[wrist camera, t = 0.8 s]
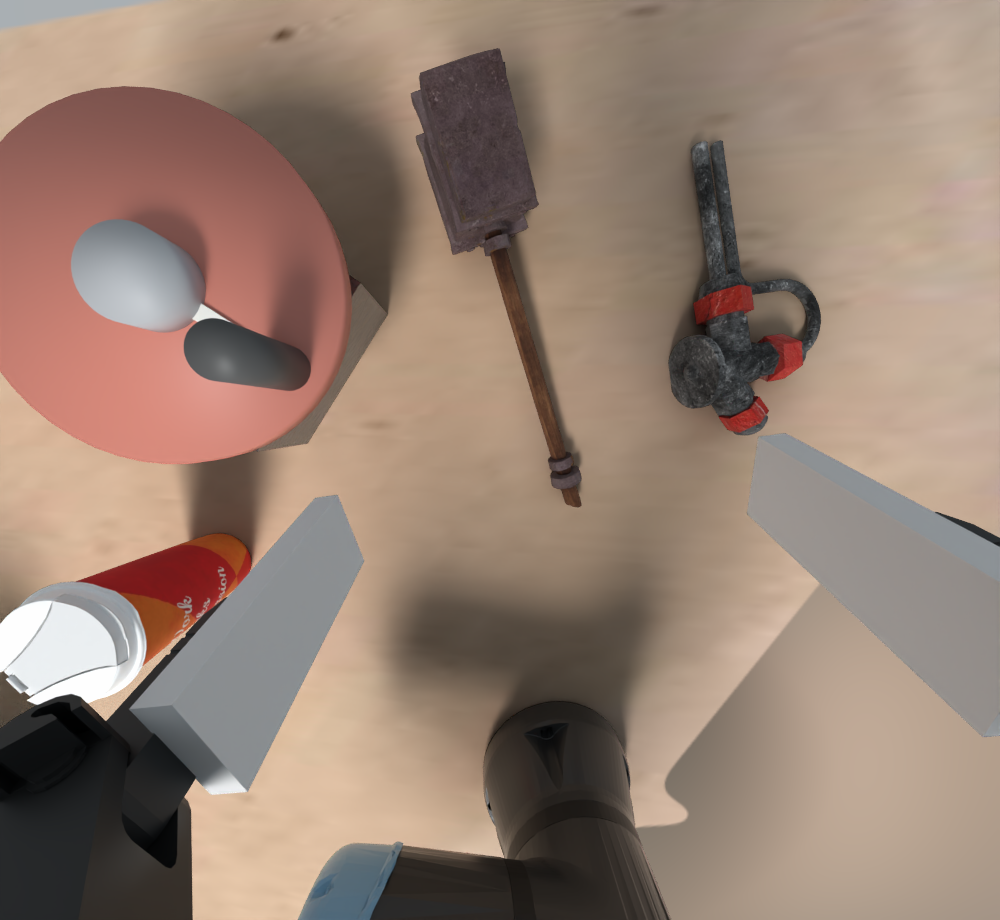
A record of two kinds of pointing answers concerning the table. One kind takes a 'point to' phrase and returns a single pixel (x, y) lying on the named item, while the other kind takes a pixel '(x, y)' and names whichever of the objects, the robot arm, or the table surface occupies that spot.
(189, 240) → the handwheel
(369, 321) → the grey box
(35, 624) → the paper cup
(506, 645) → the table surface
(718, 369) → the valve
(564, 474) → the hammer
